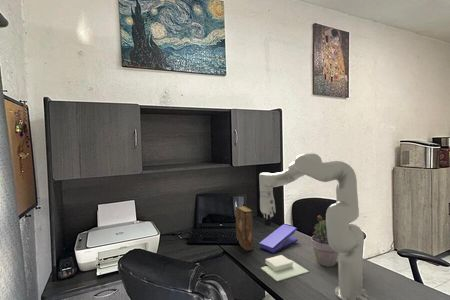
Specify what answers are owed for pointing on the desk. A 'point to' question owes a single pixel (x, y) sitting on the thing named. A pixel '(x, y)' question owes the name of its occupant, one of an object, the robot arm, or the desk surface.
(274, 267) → the tile
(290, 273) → the desk mat
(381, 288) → the desk surface
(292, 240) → the stapler
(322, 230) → the potted plant
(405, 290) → the desk surface
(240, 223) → the book
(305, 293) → the desk surface
